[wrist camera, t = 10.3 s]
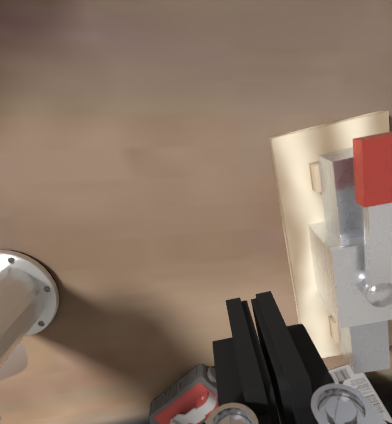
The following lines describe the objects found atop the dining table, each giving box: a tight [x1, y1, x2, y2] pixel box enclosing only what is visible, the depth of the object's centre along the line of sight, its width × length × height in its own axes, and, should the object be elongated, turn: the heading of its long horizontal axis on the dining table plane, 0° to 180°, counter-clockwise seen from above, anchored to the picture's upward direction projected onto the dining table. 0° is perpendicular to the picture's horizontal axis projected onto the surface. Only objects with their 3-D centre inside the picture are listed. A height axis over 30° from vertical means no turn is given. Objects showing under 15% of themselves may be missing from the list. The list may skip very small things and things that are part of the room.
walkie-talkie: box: [149, 364, 219, 424], centre depth 45 cm, size 9×4×20 cm
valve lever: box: [353, 131, 392, 307], centre depth 27 cm, size 16×3×2 cm, turn 11°
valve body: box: [308, 147, 392, 374], centre depth 34 cm, size 7×25×7 cm, turn 13°
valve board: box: [269, 111, 392, 358], centre depth 37 cm, size 12×30×3 cm, turn 13°
